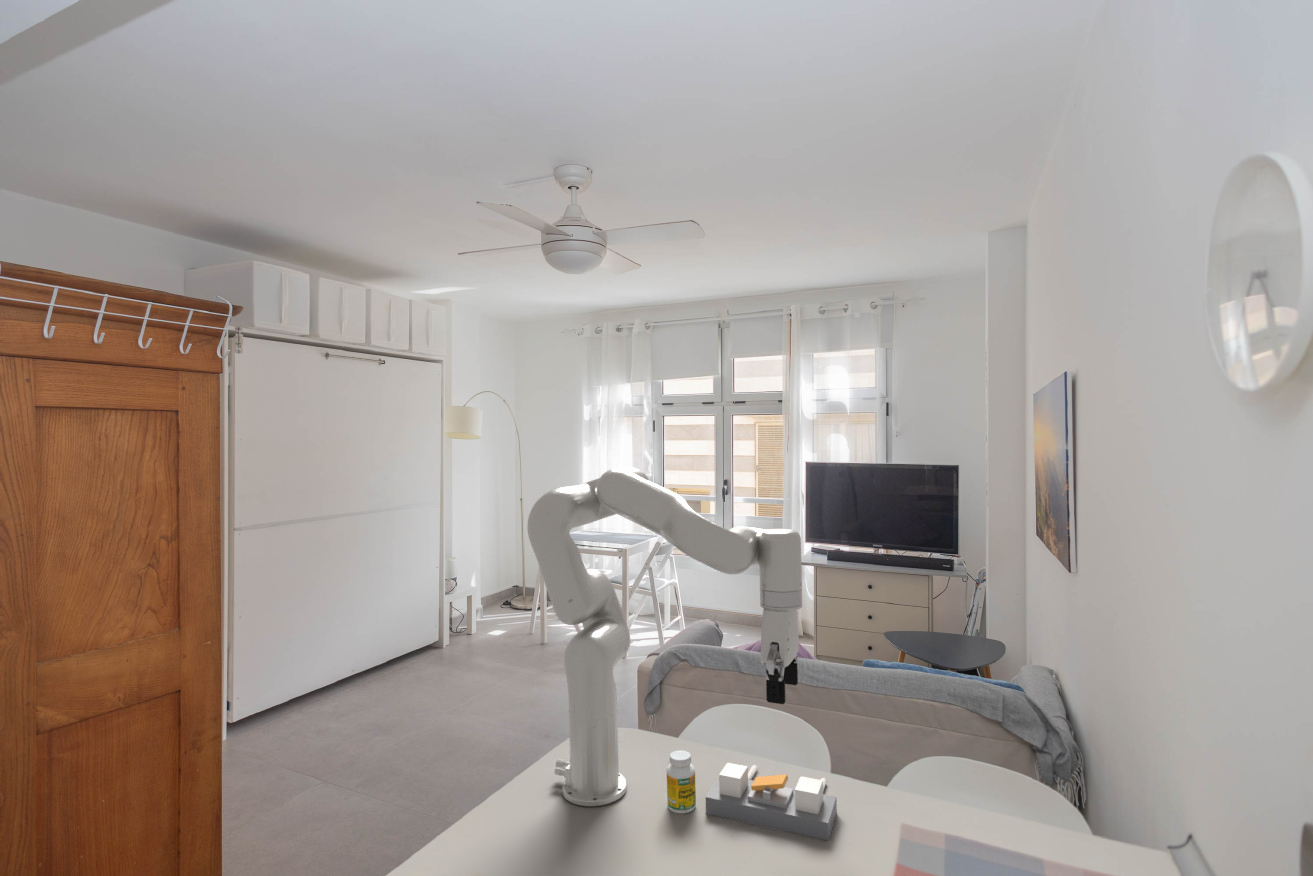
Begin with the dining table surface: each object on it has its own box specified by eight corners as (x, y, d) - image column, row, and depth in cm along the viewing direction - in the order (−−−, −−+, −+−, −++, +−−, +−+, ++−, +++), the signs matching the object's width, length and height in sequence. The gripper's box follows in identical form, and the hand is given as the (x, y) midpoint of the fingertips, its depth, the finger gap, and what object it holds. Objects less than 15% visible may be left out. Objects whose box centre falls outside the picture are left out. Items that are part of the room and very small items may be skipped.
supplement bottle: (684, 796, 126) (683, 745, 126) (701, 808, 121) (700, 756, 122) (661, 804, 123) (660, 753, 123) (678, 818, 118) (677, 764, 119)
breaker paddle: (752, 794, 119) (750, 786, 119) (758, 783, 122) (756, 776, 122) (784, 791, 116) (782, 784, 116) (789, 781, 120) (787, 773, 120)
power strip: (705, 813, 120) (705, 777, 120) (736, 766, 137) (736, 735, 137) (828, 841, 111) (827, 802, 111) (844, 786, 128) (844, 753, 128)
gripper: (772, 586, 128) (774, 674, 128) (747, 607, 112) (748, 707, 112) (811, 589, 125) (813, 680, 125) (790, 611, 109) (792, 714, 109)
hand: (782, 693), depth 118 cm, fingers open, 9 cm apart
